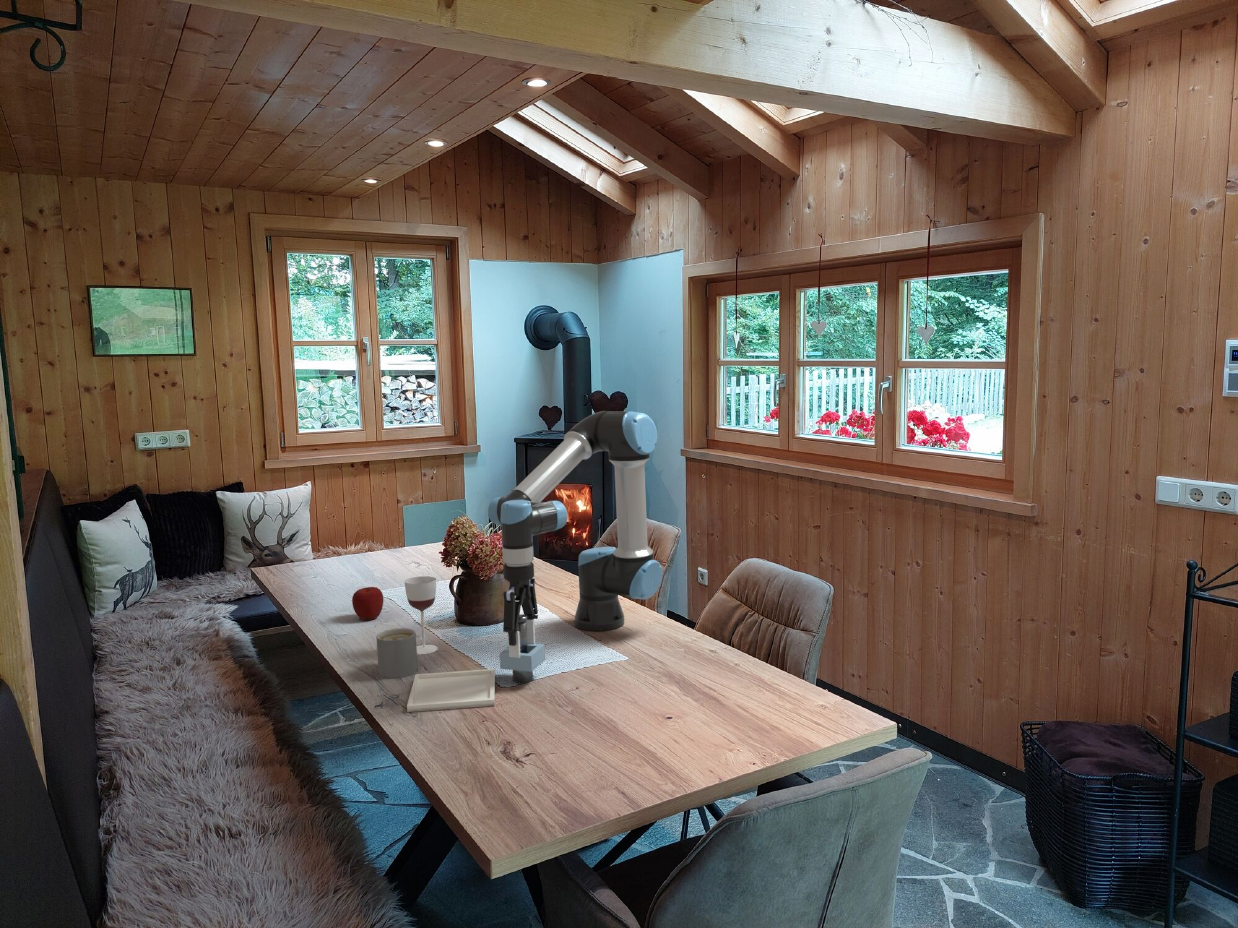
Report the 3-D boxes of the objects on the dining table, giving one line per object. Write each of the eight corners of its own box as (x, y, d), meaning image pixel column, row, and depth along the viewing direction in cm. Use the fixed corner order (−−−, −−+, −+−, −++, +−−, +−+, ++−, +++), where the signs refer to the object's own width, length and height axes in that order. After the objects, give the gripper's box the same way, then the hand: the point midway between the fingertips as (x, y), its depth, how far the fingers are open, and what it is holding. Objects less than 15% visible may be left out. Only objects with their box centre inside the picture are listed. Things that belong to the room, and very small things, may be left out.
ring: (545, 659, 219) (544, 644, 218) (531, 671, 211) (531, 656, 210) (514, 656, 222) (513, 641, 221) (500, 668, 214) (499, 653, 213)
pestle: (532, 675, 219) (530, 612, 217) (533, 682, 214) (530, 618, 212) (512, 676, 219) (510, 614, 217) (513, 683, 214) (510, 620, 212)
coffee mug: (423, 672, 223) (421, 635, 222) (385, 680, 218) (383, 643, 217) (406, 657, 234) (404, 622, 233) (369, 665, 229) (367, 629, 228)
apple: (346, 621, 268) (344, 590, 267) (366, 612, 277) (364, 582, 275) (371, 624, 264) (369, 592, 263) (390, 615, 273) (389, 584, 272)
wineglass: (432, 655, 236) (429, 584, 233) (403, 653, 238) (399, 583, 235) (444, 645, 244) (440, 576, 241) (415, 643, 245) (412, 575, 243)
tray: (495, 674, 221) (495, 668, 220) (494, 705, 201) (494, 699, 201) (415, 679, 218) (415, 674, 218) (407, 712, 198) (406, 705, 198)
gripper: (522, 552, 224) (525, 635, 227) (485, 573, 204) (490, 664, 207) (548, 553, 222) (552, 637, 225) (514, 574, 202) (518, 667, 205)
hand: (522, 650), depth 216 cm, fingers closed on ring, 8 cm apart
